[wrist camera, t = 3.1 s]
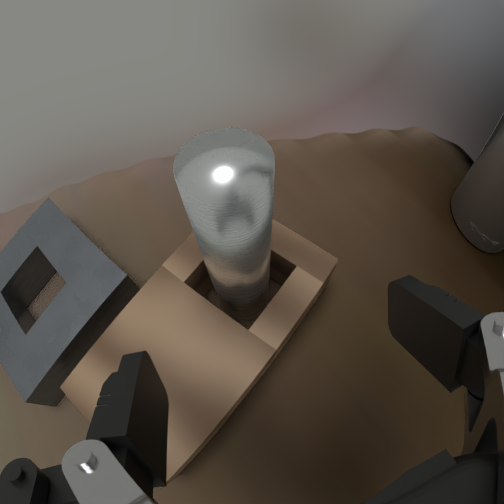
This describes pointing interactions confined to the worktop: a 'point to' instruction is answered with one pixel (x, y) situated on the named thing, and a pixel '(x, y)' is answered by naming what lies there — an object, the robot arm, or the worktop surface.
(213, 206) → the axle
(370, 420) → the worktop surface
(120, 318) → the wooden block with hole
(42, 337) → the holder
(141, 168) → the worktop surface
